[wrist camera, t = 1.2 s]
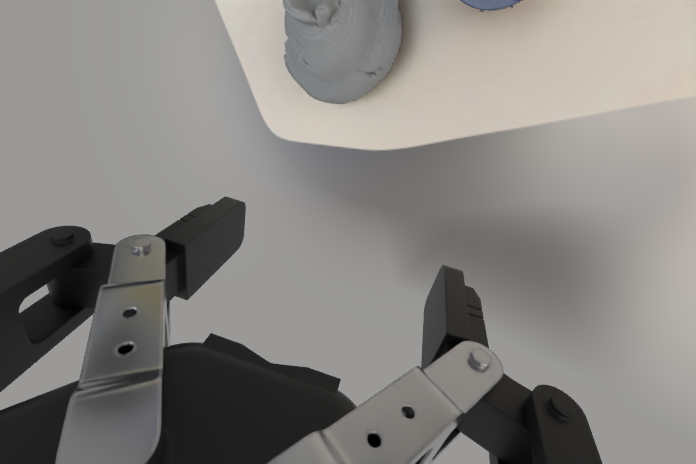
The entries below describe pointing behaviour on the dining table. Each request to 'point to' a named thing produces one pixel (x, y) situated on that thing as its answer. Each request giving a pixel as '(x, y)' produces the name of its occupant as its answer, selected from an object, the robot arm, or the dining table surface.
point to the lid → (491, 4)
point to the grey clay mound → (341, 45)
